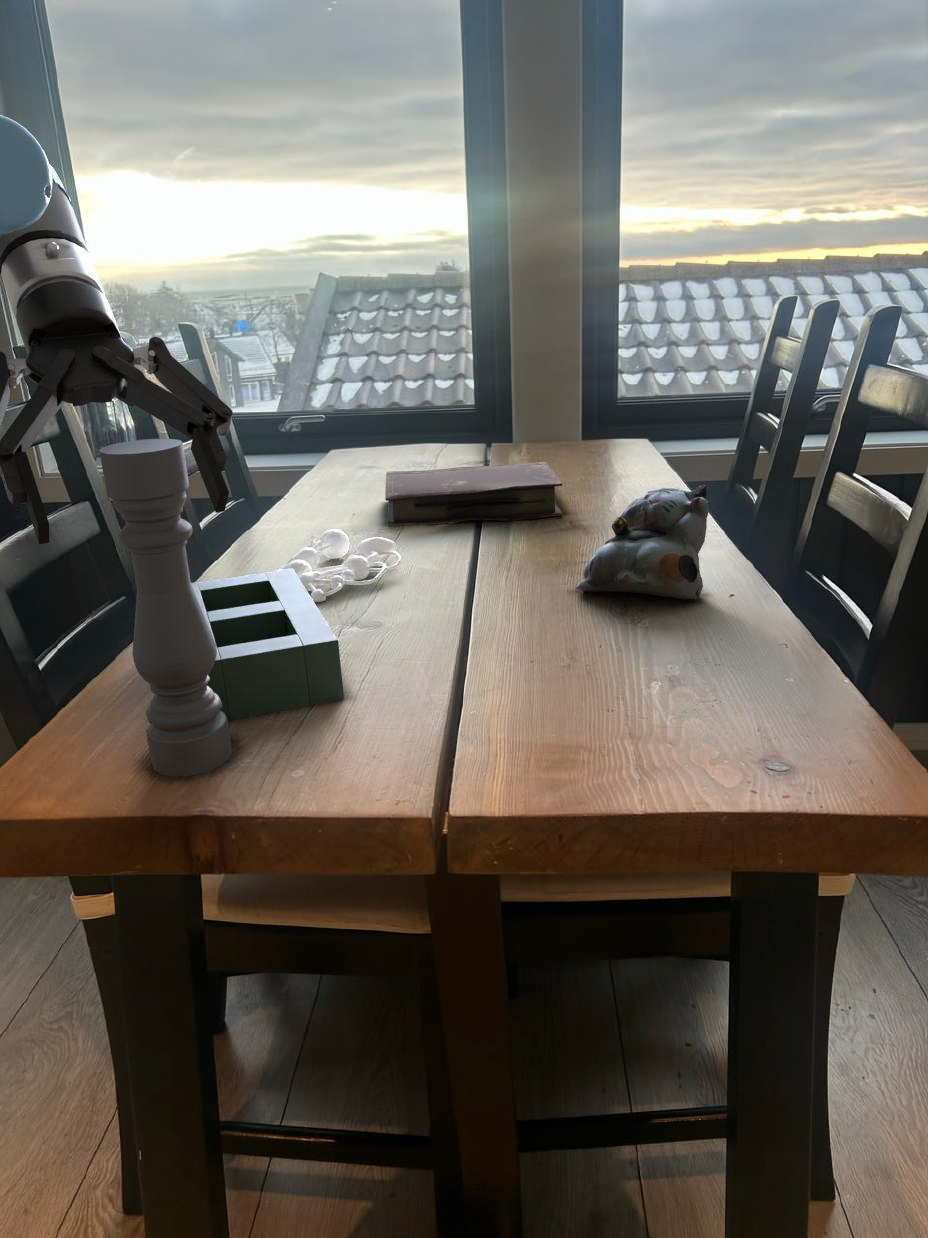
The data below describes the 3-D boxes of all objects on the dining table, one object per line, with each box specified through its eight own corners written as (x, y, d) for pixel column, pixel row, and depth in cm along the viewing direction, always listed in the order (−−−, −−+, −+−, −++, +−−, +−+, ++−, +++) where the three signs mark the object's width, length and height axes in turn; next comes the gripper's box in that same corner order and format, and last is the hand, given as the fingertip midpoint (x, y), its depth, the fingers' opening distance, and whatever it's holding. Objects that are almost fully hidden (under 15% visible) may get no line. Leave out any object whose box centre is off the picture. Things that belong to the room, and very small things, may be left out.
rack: (194, 731, 84) (183, 665, 82) (176, 640, 104) (167, 586, 102) (344, 703, 88) (338, 639, 85) (299, 621, 108) (292, 568, 106)
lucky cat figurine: (557, 589, 113) (586, 470, 114) (648, 615, 117) (675, 500, 118) (622, 588, 99) (654, 453, 100) (723, 618, 103) (752, 488, 104)
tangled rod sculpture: (332, 627, 109) (330, 592, 107) (228, 602, 115) (224, 568, 113) (421, 570, 124) (420, 538, 123) (325, 550, 131) (323, 520, 129)
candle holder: (245, 764, 78) (199, 445, 69) (167, 790, 75) (109, 459, 66) (216, 736, 83) (169, 434, 74) (141, 759, 80) (84, 446, 71)
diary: (388, 500, 158) (386, 468, 156) (545, 489, 159) (544, 458, 158) (387, 530, 141) (385, 495, 139) (563, 518, 142) (563, 484, 140)
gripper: (-112, 286, 75) (-45, 519, 68) (211, 266, 87) (297, 464, 80) (-99, 354, 81) (-36, 575, 74) (202, 328, 93) (280, 516, 86)
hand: (137, 518), depth 77 cm, fingers open, 13 cm apart
